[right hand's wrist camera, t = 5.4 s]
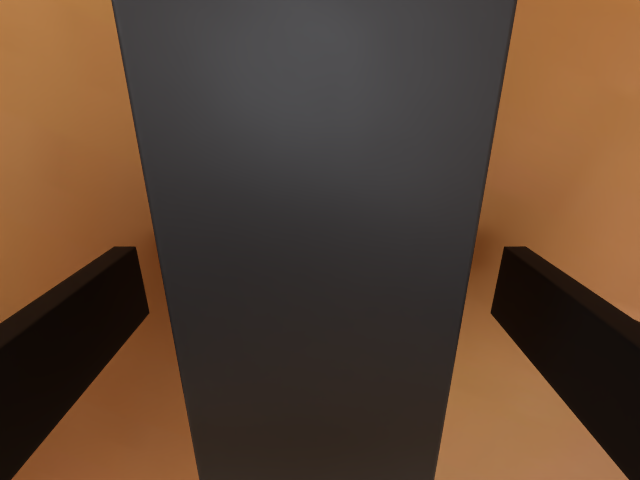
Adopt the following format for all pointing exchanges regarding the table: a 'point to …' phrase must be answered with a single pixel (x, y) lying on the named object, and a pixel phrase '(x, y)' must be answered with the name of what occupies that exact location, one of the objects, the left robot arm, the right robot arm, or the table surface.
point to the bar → (315, 218)
